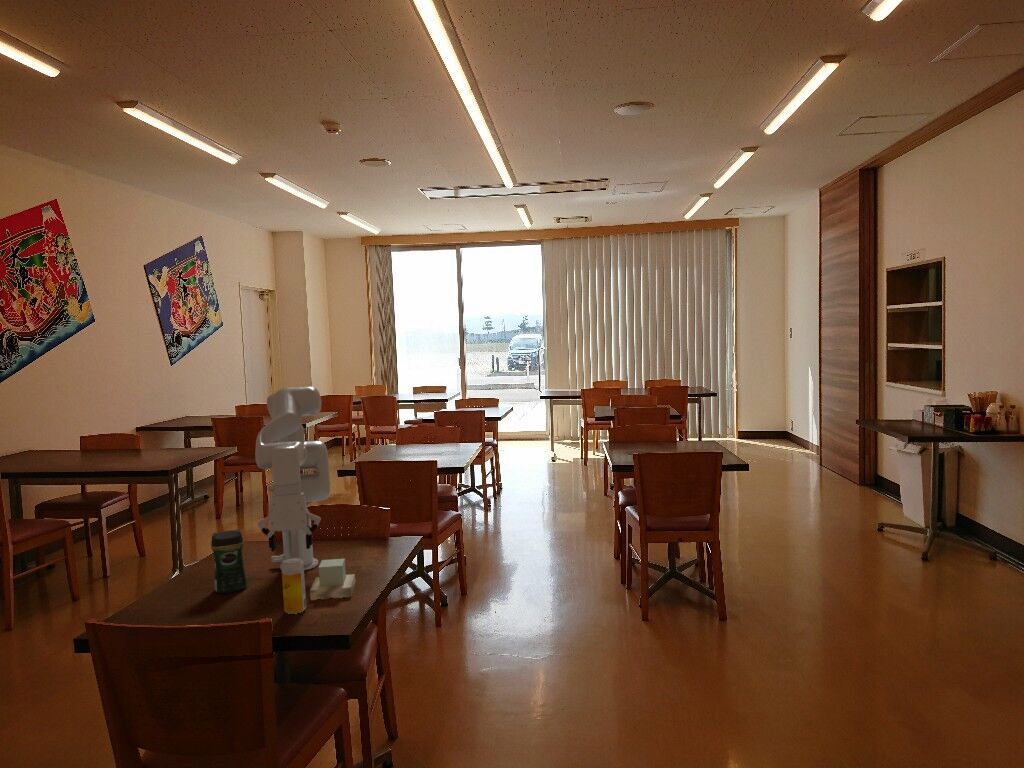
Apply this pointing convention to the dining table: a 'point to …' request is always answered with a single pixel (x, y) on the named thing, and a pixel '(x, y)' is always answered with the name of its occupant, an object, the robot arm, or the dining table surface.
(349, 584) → the slab
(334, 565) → the cube
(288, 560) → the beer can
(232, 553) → the coffee jar
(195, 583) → the dining table surface
